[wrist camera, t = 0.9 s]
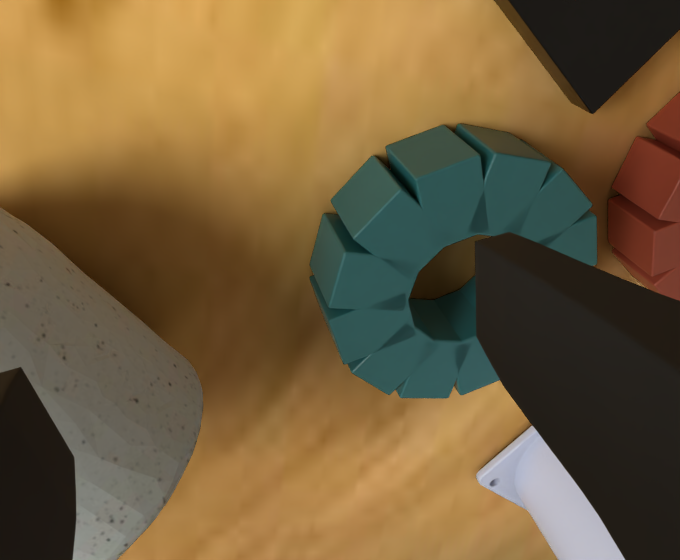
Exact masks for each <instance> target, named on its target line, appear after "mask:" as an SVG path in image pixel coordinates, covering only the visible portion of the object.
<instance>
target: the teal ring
mask: <svg viewBox="0 0 680 560" xmlns="http://www.w3.org/2000/svg"><path fill="white" fill-rule="evenodd" d="M386 151H387V155H388V160H389V164H390V168H391V170H390V169H389V168H388V167H386V166H385V165H384V164H383V163H382V162H381V161H380V160H379V159H378V158H377V157H376V156H371V157H370V158H369V159H368V160H367V162H366V163H365V164H364V165H363V166H362V167H361V168H360V169H359V170H358V171H357V172H356V173H355V174H354V175H353V176H352V178H351V179H350V180H349V181H348V182H347V183H346V184H345V185H344V186H343V187H342V188H341V189H340V190H339V191H338V193H337V194H336V195H335V196H334V197H333V198H332V199H331V203H332V204H333V206H334V208H335V210H336V211H337V213H338V215H335V214H327V213H324V214H323V215H322V219H321V223H320V227H319V230H318V234H317V238H316V242H315V246H314V249H313V253H312V257H311V261H310V267H311V270H312V272H313V274H314V275H313V276H310V281H311V284H312V287H313V289H314V292H315V295H316V298H317V300H318V303H319V306H320V309H321V311H322V314H323V317H324V320H325V322H326V324H327V327H328V329H329V331H330V334H331V336H332V338H333V341H334V343H335V345H336V348H337V350H338V352H339V355H340V357H341V359H342V362H343V364H348V366H349V368H350V371H351V372H352V373H353V374H354V375H356V376H358V377H359V378H361V379H363V380H364V381H366V382H368V383H369V384H371V385H373V386H374V387H376V388H378V389H379V390H381V391H383V392H384V393H386V394H388V395H390V394H391V393H392V392H393V391H394V390H395V389H396V391H397V393H398V395H399V397H400V398H448V397H449V396H450V393H451V391H452V389H453V387H454V386H455V388H456V390H457V391H458V393H459V394H460V395H464V394H467V393H469V392H471V391H474V390H476V389H479V388H481V387H484V386H486V385H489V384H491V383H494V382H496V381H498V380H500V379H499V377H498V375H497V374H496V372H495V370H494V368H493V367H492V365H491V363H490V361H489V359H488V358H487V356H486V354H485V352H484V350H483V348H482V346H481V344H480V343H479V341H478V339H477V337H476V282H475V276H474V277H472V278H471V279H470V280H469V281H468V282H467V283H466V284H465V285H464V286H463V287H462V288H461V289H460V290H458V291H455V292H453V293H450V294H448V295H445V296H443V297H440V298H437V299H435V300H423V299H409V297H410V294H411V292H412V289H413V286H414V283H415V281H416V278H417V275H418V272H419V271H420V270H421V269H422V268H423V267H424V266H425V265H426V264H427V263H428V262H429V261H431V260H432V259H433V258H434V257H435V256H436V255H437V254H438V253H439V252H440V251H441V250H442V249H443V248H444V247H446V246H449V245H451V244H454V243H456V242H459V241H461V240H464V239H467V238H469V237H472V236H474V235H477V234H479V235H488V236H491V237H493V236H496V235H500V234H504V233H507V232H511V233H514V234H517V235H519V236H522V237H525V238H527V239H530V240H532V241H534V242H537V243H539V244H542V245H544V246H546V247H549V248H551V249H553V250H556V251H558V252H560V253H563V254H565V255H567V256H569V257H572V258H574V259H576V260H579V261H581V262H583V263H586V264H588V265H590V266H594V265H596V264H597V217H596V215H595V214H593V213H592V212H591V211H589V209H590V208H591V207H592V206H593V204H592V202H591V201H590V200H589V199H588V198H587V197H586V195H585V194H584V193H583V192H582V191H581V189H580V188H579V187H578V186H577V185H576V183H575V182H574V181H573V180H572V179H571V177H570V176H569V175H568V174H567V173H566V171H565V170H564V169H563V168H561V167H560V166H559V165H557V164H556V163H554V162H553V161H552V160H550V159H549V158H547V157H546V156H544V155H543V154H542V153H540V152H539V151H537V150H536V149H534V148H533V147H532V146H530V145H529V144H527V143H526V142H525V141H523V140H521V139H517V138H516V137H515V136H513V135H512V134H510V133H508V132H503V131H498V130H492V129H487V128H482V127H476V126H471V125H466V124H458V125H457V127H456V130H455V133H453V132H452V131H451V130H450V129H448V128H447V127H446V126H445V125H441V126H438V127H436V128H433V129H430V130H427V131H425V132H422V133H419V134H417V135H414V136H411V137H409V138H406V139H403V140H401V141H398V142H395V143H392V144H390V145H387V146H386Z"/></svg>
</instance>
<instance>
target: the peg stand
mask: <svg viewBox="0 0 680 560" xmlns="http://www.w3.org/2000/svg"><path fill="white" fill-rule="evenodd" d="M494 1H495V2H496V3H497V5H498V6H499V7H500V9H501V10H502V11H503V13H504V14H505V15H506V17H507V18H508V19H509V21H510V22H511V23H512V25H513V26H514V27H515V28H516V30H517V31H518V32H519V34H520V35H521V36H522V38H523V39H524V40H525V42H526V43H527V44H528V46H529V47H530V48H531V50H532V51H533V52H534V54H535V55H536V56H537V58H538V59H539V60H540V62H541V63H542V64H543V66H544V67H545V68H546V70H547V71H548V72H549V74H550V75H551V76H552V78H553V79H554V80H555V82H556V83H557V84H558V86H559V87H560V88H561V90H562V91H563V92H564V94H565V95H566V96H567V98H568V99H569V100H570V102H571V103H572V104H574V105H576V106H578V107H580V108H582V109H584V110H585V111H587V112H589V113H591V114H594V113H595V112H596V111H597V110H598V109H599V108H600V107H601V106H602V105H603V104H604V103H605V102H606V101H607V100H608V99H609V98H610V97H611V96H612V95H613V94H614V93H615V92H616V91H617V90H618V89H619V88H620V87H621V86H622V85H623V84H624V83H625V82H626V81H627V80H629V79H630V78H631V77H632V76H633V75H634V74H635V73H636V72H637V71H638V70H639V69H640V68H641V67H642V66H643V65H644V64H645V63H646V62H647V61H648V60H649V59H650V58H651V57H652V56H653V55H654V54H655V53H656V52H657V51H658V50H659V49H660V48H661V47H662V46H663V45H664V44H665V43H666V42H667V41H668V40H669V39H671V38H672V37H673V36H674V35H675V34H676V33H677V32H678V31H679V30H680V0H494Z"/></svg>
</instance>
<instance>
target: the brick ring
mask: <svg viewBox="0 0 680 560" xmlns="http://www.w3.org/2000/svg"><path fill="white" fill-rule="evenodd" d="M646 125H647V127H648V128H649V130H650V131H651V133H652V134H653V136H654V137H655V139H656V140H654V139H649V138H644V137H639V136H637V137H636V138H635V140H634V142H633V144H632V146H631V148H630V151H629V153H628V155H627V157H626V159H625V161H624V163H623V165H622V167H621V169H620V171H619V173H618V175H617V177H616V179H615V181H614V183H613V185H612V189H614V190H615V191H617V192H618V193H620V194H621V195H618V196H616V197H613V198H611V199H609V200H608V242H609V243H610V244H611V245H612V246H614V247H615V248H613V249H612V253H613V254H614V255H615V256H616V258H617V259H618V260H619V261H620V262H621V263H622V264H623V266H624V267H625V268H626V269H627V270H628V271H629V272H630V274H631V275H632V276H633V277H635V278H636V279H637V280H638V281H640V282H641V283H642V284H643V285H644V286H646V287H647V288H648V289H649V290H652V291H654V292H657V293H659V294H662V295H665V296H668V297H670V298H673V299H676V300H679V301H680V92H679V93H678V94H677V95H676V96H675V97H674V98H673V99H672V100H671V101H670V102H669V103H668V104H666V105H665V106H664V107H663V108H662V109H661V110H660V111H659V112H658V113H657V114H656V115H655V116H654V117H653V118H652V119H651V120H650V121H649V122H648V123H647V124H646Z"/></svg>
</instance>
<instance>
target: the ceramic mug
mask: <svg viewBox="0 0 680 560" xmlns="http://www.w3.org/2000/svg"><path fill="white" fill-rule="evenodd" d="M19 367H21V368H22V369H23V371H24V373H25V374H26V376H27V378H28V379H29V381H30V383H31V385H32V386H33V388H34V390H35V391H36V393H37V395H38V396H39V398H40V400H41V401H42V403H43V405H44V407H45V408H46V410H47V412H48V413H49V415H50V417H51V418H52V420H53V422H54V423H55V425H56V427H57V429H58V430H59V432H60V434H61V435H62V437H63V439H64V440H65V442H66V444H67V445H68V447H69V449H70V451H71V452H72V454H73V456H74V459H75V480H76V518H77V519H76V531H75V541H74V551H73V560H117V559H118V558H119V557H120V556H121V555H122V554H123V553H124V552H125V551H126V550H127V549H128V548H129V547H130V546H131V545H132V544H133V543H134V542H135V541H136V540H137V538H138V537H139V536H140V535H141V534H142V533H143V532H144V531H145V530H146V529H147V528H148V527H149V526H150V524H151V523H152V522H153V521H154V520H155V518H156V517H157V516H158V514H159V513H160V511H161V510H162V508H163V507H164V506H165V505H166V503H167V502H168V500H169V498H170V497H171V495H172V493H173V492H174V490H175V488H176V486H177V484H178V482H179V480H180V479H181V477H182V475H183V473H184V471H185V468H186V466H187V464H188V462H189V460H190V458H191V456H192V454H193V451H194V448H195V445H196V442H197V438H198V435H199V431H200V426H201V419H202V411H203V392H202V387H201V384H200V381H199V378H198V375H197V372H196V371H195V369H194V368H193V367H192V365H191V364H190V362H189V361H188V360H187V359H186V358H185V357H183V356H182V355H181V354H180V353H178V352H177V351H176V350H175V349H174V348H172V347H171V346H170V345H169V344H167V343H166V342H165V341H164V340H162V339H161V338H160V337H159V336H158V335H157V334H156V333H155V332H153V331H152V330H151V329H150V328H149V327H148V326H147V325H146V324H145V323H143V322H142V321H141V320H140V319H139V318H138V317H136V316H135V315H134V314H133V313H132V312H130V311H129V310H128V309H127V308H126V307H125V306H123V305H122V304H121V303H120V302H119V301H117V300H116V299H115V298H114V297H113V296H111V295H110V294H109V293H108V292H107V291H105V290H104V289H103V288H102V287H100V286H99V285H98V284H97V283H96V282H94V281H93V280H92V279H91V278H89V277H88V276H87V275H86V274H85V273H83V272H82V271H81V270H80V269H79V268H78V267H77V266H76V265H75V264H74V263H73V262H71V261H70V260H69V259H68V258H67V257H66V256H65V255H64V254H63V253H62V252H61V251H60V250H59V249H58V248H57V247H56V246H54V245H53V244H52V243H51V242H50V241H48V240H47V239H46V238H44V237H43V236H42V235H40V234H39V233H38V232H37V231H35V230H34V229H33V228H31V227H30V226H29V225H27V224H26V223H24V222H23V221H21V220H19V219H18V218H16V217H14V216H12V215H11V214H10V213H8V212H7V211H5V210H4V209H2V208H1V207H0V373H1V372H4V371H8V370H12V369H15V368H19Z"/></svg>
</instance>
